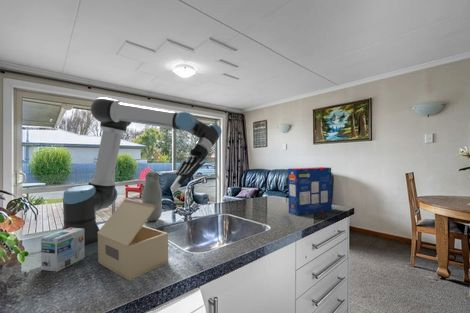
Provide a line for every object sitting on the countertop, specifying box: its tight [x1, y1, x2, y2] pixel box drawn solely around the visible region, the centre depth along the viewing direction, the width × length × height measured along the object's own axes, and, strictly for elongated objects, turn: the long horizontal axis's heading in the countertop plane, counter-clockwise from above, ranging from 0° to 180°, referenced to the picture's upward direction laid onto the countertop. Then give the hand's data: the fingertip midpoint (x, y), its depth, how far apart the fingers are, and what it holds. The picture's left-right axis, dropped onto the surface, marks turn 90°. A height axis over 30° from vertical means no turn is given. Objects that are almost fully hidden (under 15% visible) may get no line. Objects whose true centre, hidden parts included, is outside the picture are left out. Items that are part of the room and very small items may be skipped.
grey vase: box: [141, 171, 163, 222], centre depth 128 cm, size 10×10×28 cm
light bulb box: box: [40, 228, 86, 273], centre depth 77 cm, size 11×7×11 cm, turn 168°
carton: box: [97, 225, 169, 281], centre depth 78 cm, size 20×14×10 cm
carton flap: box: [97, 199, 157, 246], centre depth 76 cm, size 19×14×1 cm
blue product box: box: [287, 166, 333, 217], centre depth 144 cm, size 28×8×28 cm, turn 114°
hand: (173, 189), depth 92 cm, fingers closed
